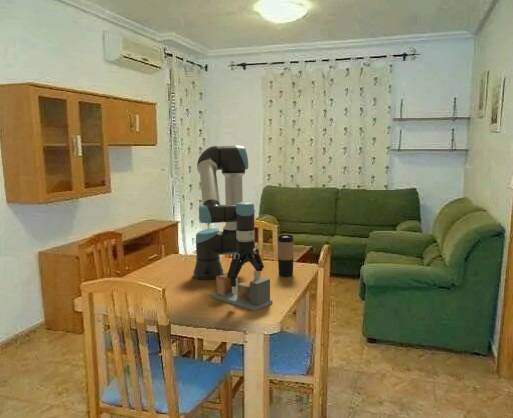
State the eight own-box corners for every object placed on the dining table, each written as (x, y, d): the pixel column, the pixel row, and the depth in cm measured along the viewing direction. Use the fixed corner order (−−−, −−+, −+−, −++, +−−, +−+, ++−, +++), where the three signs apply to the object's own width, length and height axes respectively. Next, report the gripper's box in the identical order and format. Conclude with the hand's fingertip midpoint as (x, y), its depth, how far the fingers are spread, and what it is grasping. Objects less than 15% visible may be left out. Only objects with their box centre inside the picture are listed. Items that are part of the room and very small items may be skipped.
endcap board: (211, 297, 194) (210, 273, 192) (229, 290, 202) (228, 267, 200) (255, 310, 178) (254, 284, 176) (272, 303, 186) (272, 278, 184)
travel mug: (277, 273, 229) (277, 234, 226) (292, 272, 229) (292, 234, 226) (279, 277, 221) (279, 237, 218) (294, 276, 222) (294, 237, 219)
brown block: (237, 297, 188) (237, 284, 188) (243, 295, 191) (243, 281, 191) (259, 304, 181) (258, 289, 180) (265, 301, 184) (265, 287, 183)
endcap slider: (216, 293, 193) (215, 276, 192) (230, 288, 200) (229, 272, 199) (223, 295, 191) (222, 278, 190) (237, 290, 197) (236, 273, 196)
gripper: (231, 246, 172) (232, 299, 175) (271, 236, 191) (272, 284, 194) (217, 243, 177) (218, 295, 180) (258, 233, 196) (259, 280, 199)
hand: (246, 289), depth 187 cm, fingers open, 13 cm apart
